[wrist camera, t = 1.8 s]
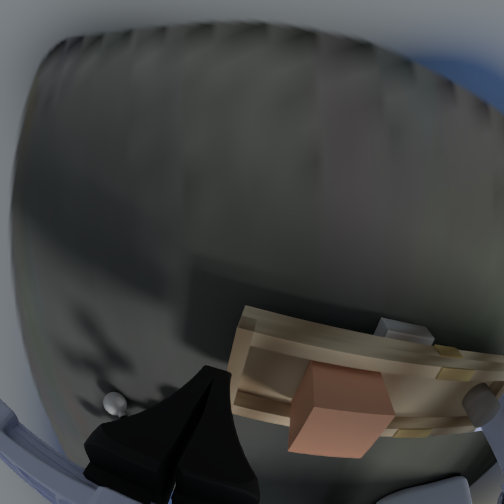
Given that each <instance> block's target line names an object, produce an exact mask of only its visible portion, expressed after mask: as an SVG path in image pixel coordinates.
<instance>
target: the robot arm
mask: <svg viewBox="0 0 504 504" xmlns="http://www.w3.org/2000/svg"><path fill="white" fill-rule="evenodd" d="M231 377H232V374H231V373H230V372H228V371H224V370H221V369H217V368H214V367H211V366H207V365H205V366H203V367H202V369H201V370H200V371H199V372H198V373H197V374H196V375H195V376H194V377H193V378H192V379H191V380H190V381H189V382H187V383H186V384H185V385H184V386H183V387H182V388H180V389H179V390H178V391H176V392H175V393H174V394H172V395H171V396H169V397H168V398H166V399H165V400H163V401H162V402H160V403H158V404H156V405H154V406H153V407H151V408H148V409H146V410H144V411H142V412H140V413H137V414H135V415H132V416H129V417H126V418H123V419H120V420H116V421H111V422H107V423H102V424H101V425H100V426H98V427H97V428H96V429H95V430H94V431H93V432H92V434H91V435H90V436H89V438H88V439H87V440H86V442H85V443H84V447H85V451H86V453H87V455H88V457H89V460H90V463H89V464H88V466H87V467H86V469H84V468H82V467H80V466H79V465H77V464H76V463H74V462H72V461H71V460H69V459H68V458H66V457H65V456H63V455H62V454H60V453H59V452H57V451H56V450H54V449H53V448H52V447H50V446H49V445H48V444H46V443H45V442H44V441H42V440H41V439H39V438H38V437H37V436H36V435H34V434H33V433H32V432H31V431H29V430H28V429H27V428H26V427H25V426H23V425H22V424H21V423H20V422H19V421H18V419H17V416H16V415H15V413H14V412H13V411H12V410H11V409H10V408H9V407H8V406H7V405H6V404H5V403H4V402H3V401H2V400H1V399H0V458H1V459H2V460H3V461H4V462H5V463H6V464H7V465H8V466H9V467H10V468H11V469H12V470H13V471H14V472H15V473H16V474H17V475H19V476H20V477H21V478H22V479H23V480H24V481H25V482H27V483H28V484H29V485H30V486H31V487H32V488H34V489H35V490H36V491H37V492H38V493H40V494H41V495H42V496H44V497H45V498H46V499H47V500H49V501H50V502H52V503H53V504H168V502H169V499H170V496H171V493H172V491H173V488H174V485H175V482H176V487H175V489H174V491H173V494H172V496H171V499H172V504H259V501H260V490H259V484H258V480H257V477H256V475H255V473H254V472H253V470H252V468H251V466H250V465H249V463H248V461H247V459H246V457H245V454H244V452H243V449H242V447H241V444H240V442H239V439H238V436H237V433H236V429H235V425H234V421H233V415H232V409H231V400H230V382H231ZM498 401H499V403H500V409H499V411H498V413H497V414H496V415H495V417H494V418H493V419H492V420H491V421H489V422H488V423H487V424H485V425H483V426H481V427H478V428H476V429H475V431H483V433H484V435H485V436H486V438H487V440H488V442H489V444H490V446H491V448H492V450H493V452H494V455H495V457H496V459H497V461H498V463H499V465H500V467H501V470H502V472H503V474H504V393H503V394H502V396H501V397H500V399H499V400H498ZM475 431H474V432H475ZM501 487H502V490H503V491H502V492H501V494H500V496H499V498H498V503H497V504H504V483H503V484H502V485H501Z"/></svg>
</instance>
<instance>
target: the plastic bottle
mask: <svg viewBox="0 0 504 504" xmlns="http://www.w3.org/2000/svg"><path fill="white" fill-rule="evenodd" d="M376 504H472V499H471V495H470V490H469V486H468V482H467V480H466V478H464V477H462V476H455V477H451V478H447V479H444V480H440V481H436V482H433V483H429V484H424V485H420V486H415V487H410V488H406V489H403V490H400V491H397V492H395V493H392V494H390V495H388V496H386V497H384V498H382V499H381V500H379V501H378V502H377V503H376Z"/></svg>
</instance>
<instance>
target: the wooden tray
mask: <svg viewBox="0 0 504 504" xmlns="http://www.w3.org/2000/svg"><path fill="white" fill-rule="evenodd" d="M434 339H435V338H434V337H433V336H432V334H431V333H430V332H429V330H428V329H427V328H426V327H425V326H420V325H415V324H410V323H405V322H401V321H396V320H391V319H387V318H382V317H381V319H380V321H379V323H378V326H377V328H376V330H375V332H374V334H373V335H370V334H365V333H360V332H355V331H351V330H346V329H341V328H337V327H332V326H328V325H323V324H319V323H315V322H310V321H306V320H302V319H298V318H294V317H290V316H286V315H282V314H278V313H274V312H270V311H266V310H262V309H258V308H254V307H251V306H247V305H245V308H244V310H243V313H242V316H241V318H240V321H239V323H238V326H237V329H236V334H235V338H234V342H233V346H232V350H231V354H230V359H229V363H228V367H227V371H228V372H230V373H231V374H232V377H231V382H230V400H231V409H232V414H236V415H240V416H244V417H248V418H252V419H256V420H261V421H265V422H270V423H275V424H280V425H285V426H290V412H291V402H292V399H293V397H294V395H295V393H296V391H297V389H298V386H299V384H300V382H301V380H302V378H303V375H304V373H305V371H306V368H307V366H308V364H309V361H310V360H314V361H319V362H324V363H329V364H335V365H340V366H346V367H351V368H357V369H363V370H370V371H377V372H381V375H382V377H383V380H384V383H385V386H386V388H387V391H388V394H389V397H390V400H391V403H392V406H393V409H394V412H395V415H396V416H395V417H394V418H393V420H392V421H391V422H390V424H389V425H388V426H387V427H386V429H385V430H384V431H383V433H382V434H381V435H380V436H393V438H415V437H427V436H434V435H448V434H458V433H467V432H474V431H475V429H476V428H478V427H481V426H483V425H485V424H487V423H488V422H489V421H491V420H492V419H493V418H494V417H495V415H496V414H497V413H498V411H499V409H500V403H499V401H498V400H499V399H500V397H501V396H502V394H503V393H504V356H503V355H496V354H487V353H479V352H471V351H464V350H457V348H455V347H448V346H442V345H436V344H435V345H434V346H431V345H432V343H433V341H434Z"/></svg>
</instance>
